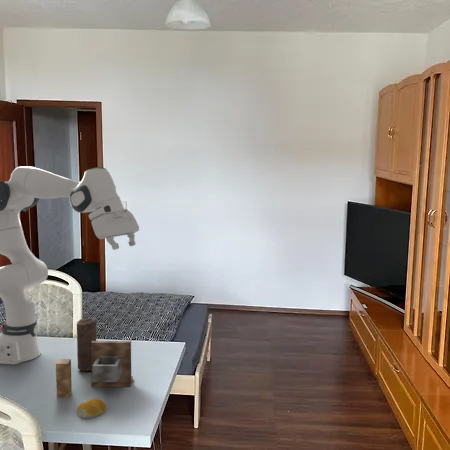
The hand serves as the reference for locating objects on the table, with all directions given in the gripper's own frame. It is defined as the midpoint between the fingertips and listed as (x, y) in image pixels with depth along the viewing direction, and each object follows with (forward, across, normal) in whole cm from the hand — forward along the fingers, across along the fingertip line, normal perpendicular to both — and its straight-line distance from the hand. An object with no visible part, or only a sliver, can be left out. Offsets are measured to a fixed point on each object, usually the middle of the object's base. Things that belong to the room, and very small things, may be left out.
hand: (124, 247), depth 168 cm
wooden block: (+39, +12, -38) cm, 56 cm away
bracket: (+44, +1, -27) cm, 52 cm away
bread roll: (+47, +17, -23) cm, 55 cm away
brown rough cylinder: (+36, -7, -43) cm, 57 cm away
